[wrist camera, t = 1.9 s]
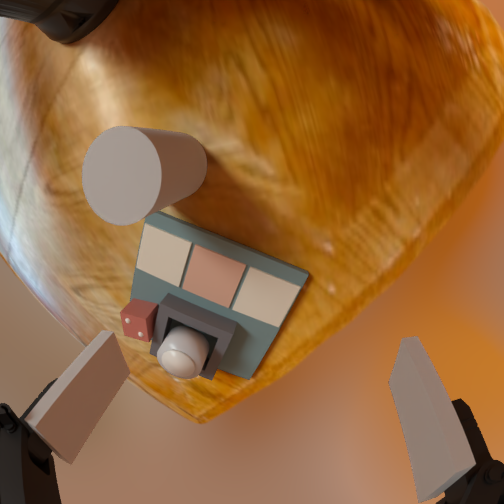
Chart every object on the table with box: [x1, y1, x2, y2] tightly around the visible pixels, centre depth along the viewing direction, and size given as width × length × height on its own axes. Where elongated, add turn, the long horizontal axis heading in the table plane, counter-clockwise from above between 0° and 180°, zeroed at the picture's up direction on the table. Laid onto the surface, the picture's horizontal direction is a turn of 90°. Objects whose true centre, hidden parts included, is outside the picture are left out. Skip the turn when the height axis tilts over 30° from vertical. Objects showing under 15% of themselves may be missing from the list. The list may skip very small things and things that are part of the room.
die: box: [120, 298, 158, 342], centre depth 35 cm, size 4×4×4 cm
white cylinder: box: [82, 126, 207, 225], centre depth 25 cm, size 8×8×12 cm
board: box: [130, 211, 309, 380], centre depth 35 cm, size 21×20×4 cm
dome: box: [157, 326, 209, 379], centre depth 33 cm, size 6×6×4 cm
